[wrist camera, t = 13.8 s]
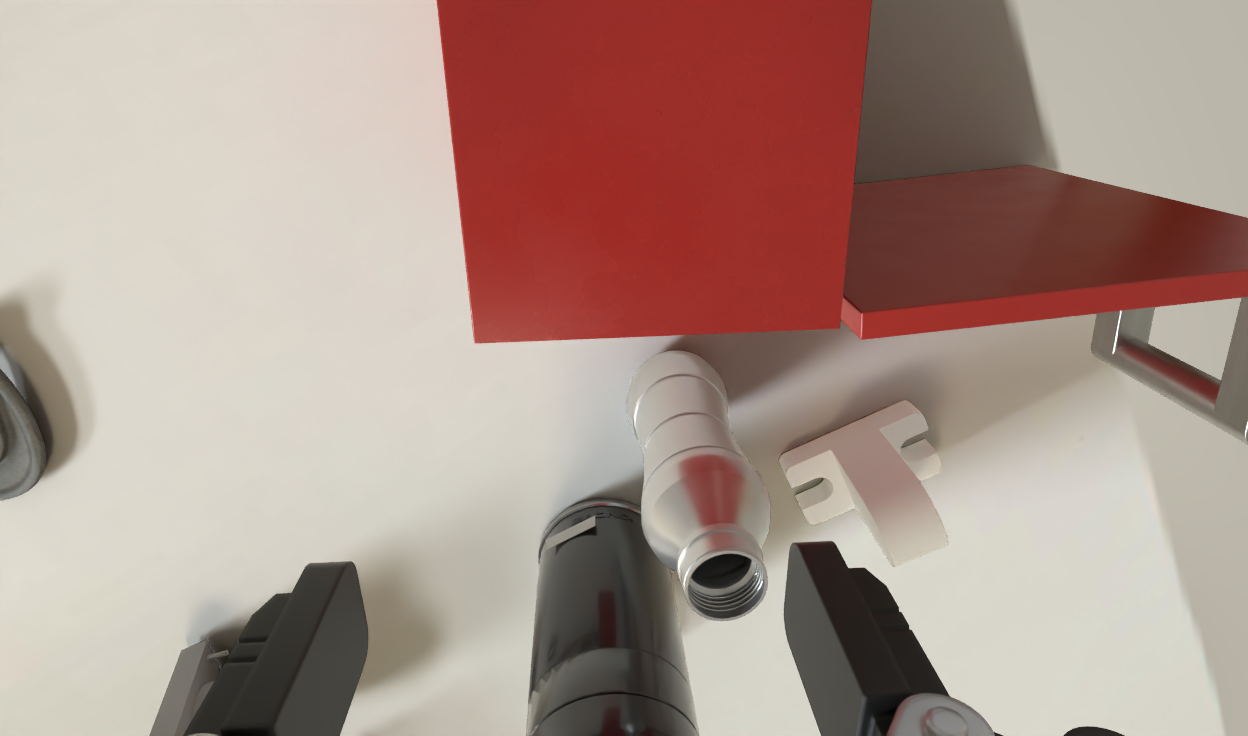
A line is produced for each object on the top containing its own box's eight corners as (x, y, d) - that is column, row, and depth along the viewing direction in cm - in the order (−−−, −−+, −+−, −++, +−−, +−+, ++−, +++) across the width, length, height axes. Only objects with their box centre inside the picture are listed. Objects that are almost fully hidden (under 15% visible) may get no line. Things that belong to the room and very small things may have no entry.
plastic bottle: (725, 342, 48) (815, 520, 30) (713, 434, 51) (789, 649, 32) (627, 337, 47) (656, 515, 29) (620, 430, 50) (642, 647, 32)
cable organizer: (931, 456, 52) (1006, 541, 43) (802, 512, 54) (848, 606, 44) (909, 397, 50) (983, 473, 41) (776, 456, 52) (818, 543, 42)
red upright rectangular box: (732, -151, 37) (911, -395, 17) (721, 205, 44) (840, 329, 24) (495, -148, 37) (393, -396, 17) (522, 211, 44) (474, 344, 24)
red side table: (1015, 280, 47) (1334, 444, 27) (738, 311, 47) (855, 499, 27) (1029, 164, 44) (1396, 253, 24) (734, 196, 44) (861, 312, 24)
